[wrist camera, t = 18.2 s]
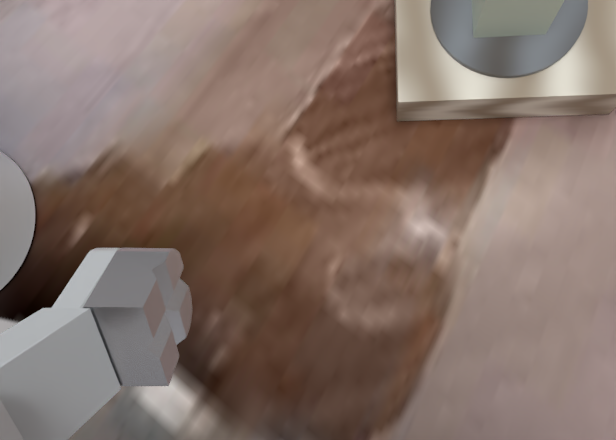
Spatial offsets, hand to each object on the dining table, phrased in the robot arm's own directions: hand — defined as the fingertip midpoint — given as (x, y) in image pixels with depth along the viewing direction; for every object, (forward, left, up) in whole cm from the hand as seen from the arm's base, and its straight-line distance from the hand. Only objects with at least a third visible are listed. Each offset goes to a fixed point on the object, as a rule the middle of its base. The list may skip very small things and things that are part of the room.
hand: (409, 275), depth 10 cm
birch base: (+9, +22, -34) cm, 42 cm away
